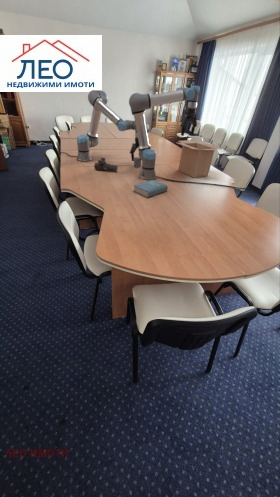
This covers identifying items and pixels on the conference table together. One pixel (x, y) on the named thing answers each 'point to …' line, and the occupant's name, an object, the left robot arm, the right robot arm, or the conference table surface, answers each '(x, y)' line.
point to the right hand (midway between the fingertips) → (187, 135)
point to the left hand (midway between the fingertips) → (137, 160)
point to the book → (150, 188)
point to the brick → (137, 162)
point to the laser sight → (105, 166)
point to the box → (196, 158)
